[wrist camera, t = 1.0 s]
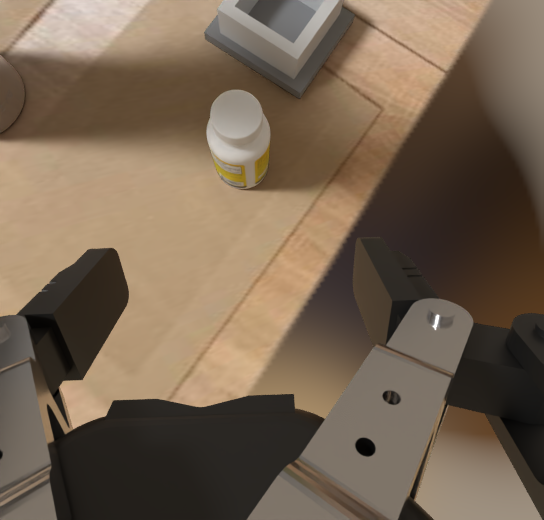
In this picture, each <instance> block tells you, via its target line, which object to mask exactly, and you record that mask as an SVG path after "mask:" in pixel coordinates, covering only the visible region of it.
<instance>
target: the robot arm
mask: <svg viewBox="0 0 544 520" xmlns="http://www.w3.org/2000/svg"><path fill="white" fill-rule="evenodd" d="M24 98H25V90H24V85H23V82H22V79H21V77H20V75H19V74H18V72H17V71H16V70H15V69H14V68H13V67H12V66H11V65H10V64H9V63H8V62H7V61H6V60H5V59H4V58H3V57H2V56H1V55H0V133H1V132H2V131H4V130H5V129H7V128H8V127H9V126H10V125H11V124H12V123H13V122H14V121H15V120H16V119H17V117H18V116H19V114H20V112H21V110H22V107H23V105H24ZM353 290H354V296H355V299H356V302H357V304H358V307H359V310H360V313H361V315H362V318H363V321H364V323H365V326H366V329H367V332H368V334H369V337H370V340H371V342H372V345H373V350H372V351H371V352H370V354H369V355H368V357H367V358H366V360H365V361H364V363H363V364H362V366H361V367H360V369H359V370H358V371H357V373H356V374H355V376H354V377H353V379H352V380H351V382H350V383H349V385H348V386H347V388H346V389H345V391H344V392H343V394H342V395H341V397H340V398H339V399H338V401H337V402H336V404H335V405H334V407H333V408H332V410H331V411H330V413H329V414H328V416H327V417H326V419H324V418H322V417H320V416H318V415H316V414H313V413H310V412H307V411H304V410H300V409H295V406H294V395H293V394H284V395H283V394H282V395H254V396H246V397H242V398H238V399H234V400H230V401H226V402H222V403H218V404H215V405H211V406H207V407H194V406H189V405H184V404H179V403H175V402H170V401H165V400H160V399H143V400H115V401H113V402H112V405H111V407H110V409H109V411H108V413H107V415H106V416H105V417H101V418H98V419H96V420H93V421H90V422H88V423H86V424H83V425H81V426H79V427H77V428H75V429H73V427H72V423H71V420H70V416H69V413H68V410H67V406H66V403H65V399H64V396H63V393H62V391H61V389H60V387H59V386H60V385H61V383H62V382H63V381H67V380H83V378H84V376H85V375H86V373H87V371H88V370H89V368H90V366H91V365H92V363H93V361H94V359H95V358H96V356H97V354H98V353H99V351H100V349H101V348H102V346H103V344H104V343H105V341H106V339H107V338H108V336H109V334H110V333H111V331H112V329H113V328H114V326H115V324H116V323H117V321H118V319H119V317H120V316H121V314H122V312H123V311H124V309H125V307H126V306H127V303H128V298H129V291H128V286H127V282H126V279H125V276H124V272H123V269H122V266H121V262H120V259H119V256H118V253H117V251H116V250H115V249H114V248H102V249H89V250H87V251H86V252H85V253H84V254H83V255H82V256H81V257H80V258H79V259H78V260H77V261H76V262H75V263H74V264H73V265H71V266H70V267H68V268H66V269H64V270H63V271H61V272H59V273H58V274H57V275H56V276H55V277H54V278H53V279H52V280H51V281H50V284H47V285H46V286H45V287H44V288H43V289H42V292H39V293H38V294H37V295H36V296H35V297H34V298H33V299H32V300H31V301H30V302H29V303H28V304H27V305H26V306H25V307H24V308H23V309H22V310H21V311H20V312H19V313H18V314H16V315H8V316H2V317H0V520H433V518H432V517H431V516H430V515H429V514H427V513H426V511H425V510H423V509H422V508H421V507H420V506H419V505H418V504H417V503H416V502H415V500H416V497H417V494H418V491H419V488H420V485H421V482H422V479H423V476H424V473H425V470H426V467H427V464H428V461H429V458H430V455H431V452H432V450H433V447H434V444H435V442H436V439H437V436H438V433H439V430H440V428H441V425H442V422H443V419H444V416H445V414H446V411H447V408H448V405H451V406H455V407H459V408H464V409H468V410H472V411H476V412H481V413H485V415H486V417H487V419H488V421H489V422H490V424H491V426H492V428H493V430H494V432H495V434H496V435H497V437H498V439H499V441H500V443H501V444H502V446H503V448H504V450H505V452H506V454H507V455H508V457H509V459H510V461H511V463H512V465H513V466H514V468H515V470H516V472H517V474H518V476H519V477H520V479H521V481H522V483H523V485H524V486H525V488H526V490H527V492H528V494H529V496H530V497H531V499H532V501H533V503H534V505H535V507H536V508H537V510H538V512H539V514H540V515H541V517H542V519H543V520H544V315H543V314H534V313H528V314H521V315H519V316H517V317H515V318H514V320H513V322H512V325H511V327H510V329H506V328H500V327H494V326H488V325H482V324H477V323H474V322H473V319H472V317H471V315H470V314H469V313H468V312H467V311H466V310H465V309H463V308H462V307H460V306H459V305H457V304H455V303H452V302H449V301H446V300H441V299H439V297H438V296H437V294H436V293H435V292H434V290H433V289H432V288H431V286H430V285H429V284H428V282H427V281H426V279H425V278H424V277H422V274H421V273H420V271H419V270H418V269H417V268H416V266H415V265H414V263H413V262H412V260H411V259H410V258H408V257H407V256H405V255H404V254H402V253H400V252H399V251H390V250H389V248H388V247H387V245H386V244H385V242H384V240H383V239H382V238H381V237H370V238H358V239H357V241H356V247H355V259H354V271H353Z"/></svg>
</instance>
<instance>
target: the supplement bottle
mask: <svg viewBox="0 0 544 520" xmlns="http://www.w3.org/2000/svg"><path fill="white" fill-rule="evenodd" d="M206 133H207V141H208V144H209V148H210V151H211V154H212V157H213V160H214V163H215V167H216V170H217V172H218V174H219V176H220V178H221V179H222V180H223V181H224V182H225V183H226V184H228V185H229V186H231V187H234V188H237V189H248V188H251V187H254V186H256V185H257V184H259V183H260V182H261V181H262V180H263V179H264V177H265V175H266V173H267V170H268V165H269V150H270V137H271V134H270V126H269V123H268V121H267V119H266V117H265V115H264V114H263V112H262V107H261V105H260V103H259V101H258V100H257V99H256V98H255V97H254V96H253V95H252V94H250V93H248V92H246V91H243V90H229V91H226V92H224V93H222V94H221V95H219V96H218V97H217V98H216V99H215V101H214V102H213V104H212V107H211V110H210V119H209V121H208V125H207V131H206Z"/></svg>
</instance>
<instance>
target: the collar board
mask: <svg viewBox="0 0 544 520" xmlns="http://www.w3.org/2000/svg"><path fill="white" fill-rule="evenodd" d="M343 2H344V0H223V2H222V3H221V4H220V6H219V7H218V8H217V12H218V15H217V16H216V17H215V19H214V20H213V21H212V23H211V24H210V25H209V26H208V28H207V29H206V30H205V32H204V34H205V39H206V40H207V41H209V42H211V43H212V44H214V45H215V46H217V47H218V48H220V49H222V50H223V51H225V52H226V53H228V54H229V55H231V56H233V57H234V58H236V59H237V60H239V61H240V62H242V63H244V64H245V65H247V66H248V67H250V68H251V69H253V70H255V71H256V72H258V73H259V74H261V75H263V76H264V77H266V78H267V79H269V80H270V81H272V82H274V83H275V84H277V85H278V86H280V87H281V88H283V89H285V90H286V91H288V92H289V93H291V94H292V95H294V96H296V97H297V98H299V99H300V97H301V96H302V95H303V93H304V92H305V90H306V89H307V87H308V86H309V84H310V83H311V82H312V80H313V79H314V77H315V76H316V74H317V73H318V71H319V70H320V69H321V67H322V66H323V64H324V63H325V61H326V60H327V58H328V57H329V56H330V54H331V53H332V51H333V50H334V48H335V47H336V45H337V44H338V43H339V41H340V40H341V38H342V37H343V35H344V34H345V32H346V31H347V30H348V28H349V27H350V25H351V24H352V22H353V20H354V17H355V14H353V13H352V12H350V11H348V10H347V9H345V8H344V7H342V5H343Z"/></svg>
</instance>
